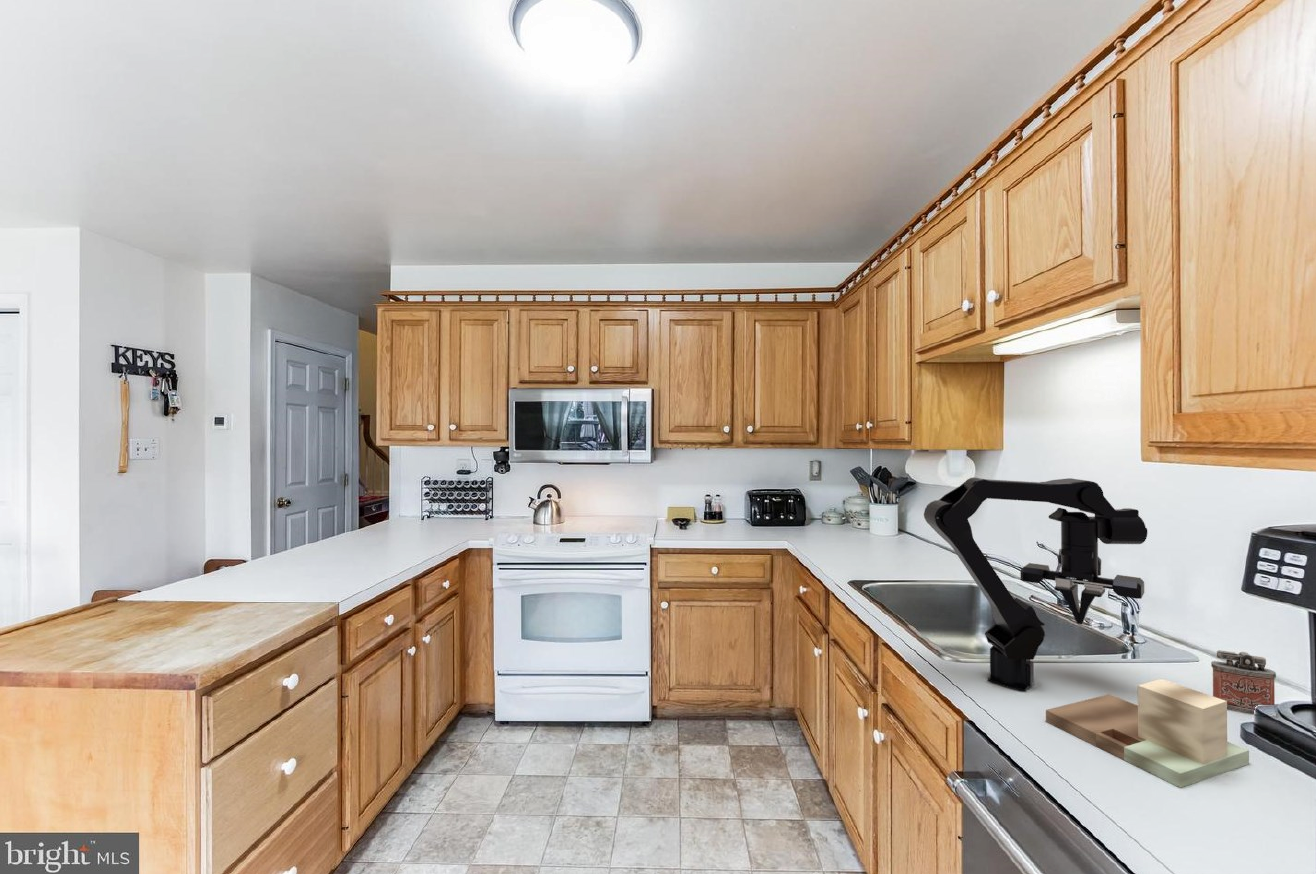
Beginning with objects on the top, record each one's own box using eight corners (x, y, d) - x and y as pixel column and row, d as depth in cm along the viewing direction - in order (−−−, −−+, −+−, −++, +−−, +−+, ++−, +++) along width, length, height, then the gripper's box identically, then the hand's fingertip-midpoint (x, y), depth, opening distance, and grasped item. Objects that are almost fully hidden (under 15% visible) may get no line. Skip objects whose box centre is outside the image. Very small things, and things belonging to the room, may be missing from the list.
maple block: (1138, 736, 87) (1137, 685, 87) (1161, 728, 89) (1161, 678, 89) (1203, 764, 79) (1203, 709, 79) (1227, 755, 82) (1226, 701, 82)
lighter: (1271, 710, 98) (1270, 654, 98) (1279, 719, 95) (1279, 661, 95) (1208, 700, 102) (1208, 645, 102) (1215, 708, 99) (1215, 652, 99)
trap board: (1045, 721, 96) (1045, 710, 95) (1109, 705, 101) (1109, 694, 101) (1180, 787, 78) (1180, 773, 78) (1249, 763, 83) (1248, 750, 83)
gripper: (1147, 543, 107) (1147, 624, 108) (1033, 532, 121) (1033, 604, 121) (1140, 553, 100) (1141, 640, 100) (1019, 540, 113) (1020, 616, 113)
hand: (1080, 623), depth 109 cm, fingers closed
